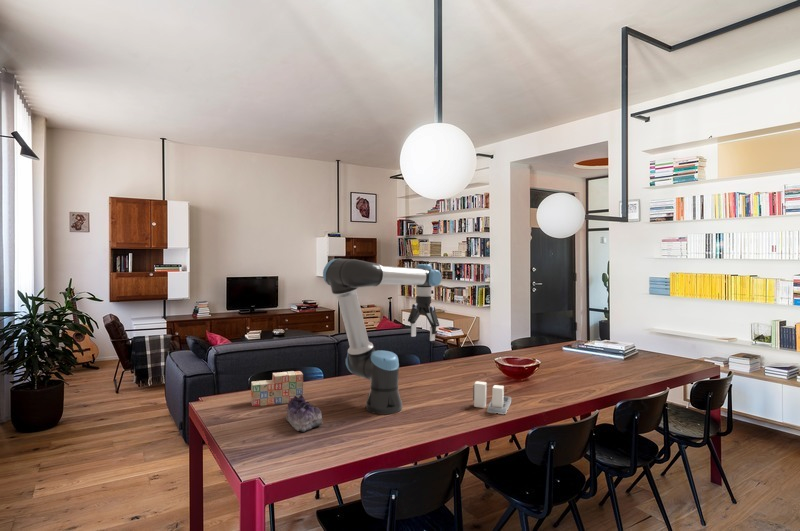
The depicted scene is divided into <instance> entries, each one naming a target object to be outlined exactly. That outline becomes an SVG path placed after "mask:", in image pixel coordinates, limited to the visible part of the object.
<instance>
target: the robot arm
mask: <svg viewBox="0 0 800 531" xmlns="http://www.w3.org/2000/svg"><path fill="white" fill-rule="evenodd" d="M322 271H323V272H322V278H323V281H324V282H325V283H326V284H327V285H329V286H330V288H331V294H333V295H334V296H336V297H337V300H338V305H339V309H340V313H341V317H342V320H343V325H344V329H345V333H346V337H347V340H348V345H349V348H348V349H347V355H346V357H345V366H346V368H347V370H348V371H349V372H350V373H351V374H353V375H354V376H357V377H361V378H364V379H367V380H370V390H369V394H368V396H367V399H366V404H365V407H366V408H365V409H366V410H367V411H368V412H370V413H372V414H379V415H390V414H396V413H399V412H400V411H402V409H403V401H402V398H401V395H400V392H399V369H400V363H399V357H398V355H397V354H396V353H394V352H393V351H389V350H382V349H380V350H375V346H374V344H373V342H371V341H370V340H369V337H368V336H369V335H368V332H367V329H366V324H365V321H364V320H365V319H364V316H363V311H362V308H361V304H360V300H359V295H358V293H357V292H358V290H359V288H367V287H379V286H380V285H395V286H397V285H399V286H403V285H404V286H415V289H416V290H415V295H416V296H415V303H413V304H412V306H411V311H410V314H409V315H408V319H407V322H409V323H410V337H416V336H417V321H418V319H419V317H420V316H421V315H423V316H425V317H426V319H427V322H429V325H430V327H429V341H430V342H433V341H436V334H437V327H440V322H439V319H438V315H437V313H436V306H431V304H432V287H438V286H439V285H440V284H441V282H442V279H443V278H442V273H441V272H440V270H438V269H433V267H432V265H431V264H429V263H428V264H427V263H421V264H420V263H419V264H417V265H416V267H404V266H403V267H402V266H387V265H381V264H380V263H379V262H378V263H376V262H369V261H365V260H359V259H355V258H353V259H352V258H351V259H350V258H342V257H341V258H340V257H339V258H334V259H331V260H329V261H328V262H327V263H326V264H325V266H324V268H323V270H322Z"/></svg>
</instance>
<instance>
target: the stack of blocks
mask: <svg viewBox="0 0 800 531" xmlns="http://www.w3.org/2000/svg"><path fill="white" fill-rule="evenodd" d="M250 385H251V386H250V401H251V406H252V407H261V406H272V405H279V404H281V405H283V404H288V403H289V402H290V401H291V398H292V399H293V398H294V396H296V397H298V398H299V397H300V395H302V396H303V394H304V374H303V372H302V371H300V370H296V371H294V370H290V371H282V372H281V371H280V372H272V379H270V380H268V379H267V380H266V379H265V380H256V381H255V380H254V381H251V383H250ZM303 397H304V396H303Z"/></svg>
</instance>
